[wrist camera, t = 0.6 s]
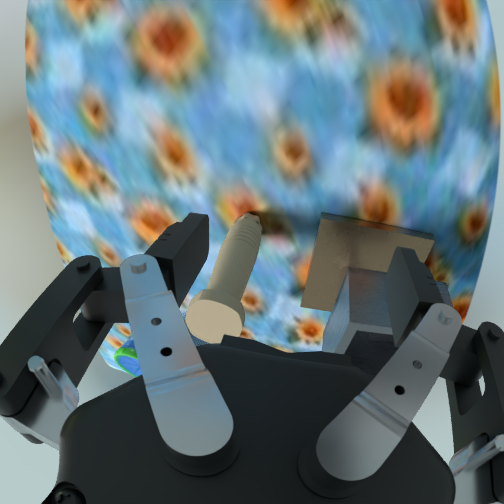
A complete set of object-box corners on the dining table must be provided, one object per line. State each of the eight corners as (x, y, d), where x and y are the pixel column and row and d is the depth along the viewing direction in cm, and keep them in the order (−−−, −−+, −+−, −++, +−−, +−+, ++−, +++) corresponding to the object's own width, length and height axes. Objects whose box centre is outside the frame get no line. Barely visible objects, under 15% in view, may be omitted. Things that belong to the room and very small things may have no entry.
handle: (277, 208, 34) (250, 313, 23) (261, 248, 39) (231, 350, 27) (237, 194, 34) (190, 292, 23) (224, 235, 38) (182, 333, 27)
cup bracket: (324, 198, 32) (316, 341, 19) (437, 222, 31) (484, 357, 17) (301, 300, 43) (282, 419, 30) (391, 314, 42) (398, 429, 28)
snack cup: (164, 350, 63) (148, 389, 56) (124, 324, 60) (104, 363, 52) (200, 329, 54) (182, 377, 46) (152, 297, 51) (128, 344, 43)
